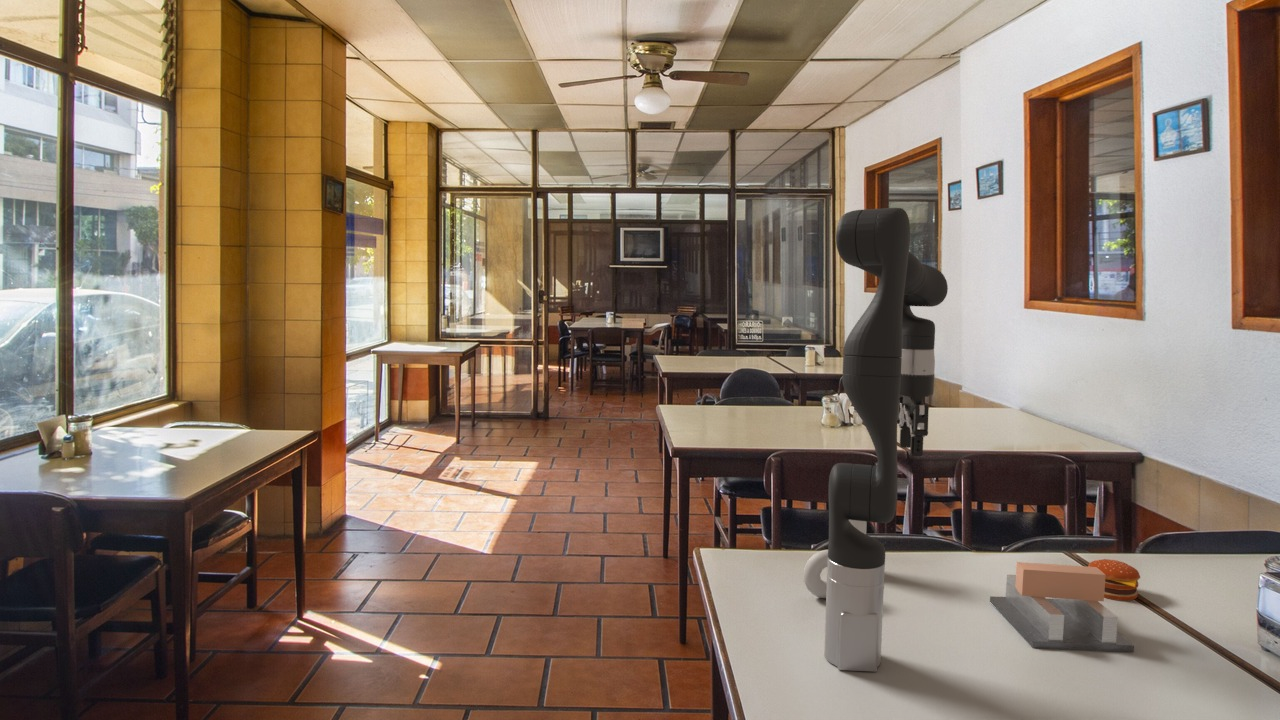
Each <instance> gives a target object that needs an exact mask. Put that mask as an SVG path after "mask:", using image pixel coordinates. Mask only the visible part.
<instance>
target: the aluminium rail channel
mask: <svg viewBox="0 0 1280 720" xmlns="http://www.w3.org/2000/svg"><path fill="white" fill-rule="evenodd" d="M1005 585H1006V586H1005V596H991V595H990V597H989V603H990V602H991V603H992V604H993V605H994V606H995V607H996V608H995V607H994V606H993V605H992V604H991V603H990V604H991V605H992V606H993V607H994V608H995V609H996V610H997V611H998V612H999V614H1000V615H1001V614H1002V617H1003V618H1004V619H1005V620H1006V621H1007V622H1008V623H1009V624H1010V625H1011V626H1012V628H1013V629H1014V630H1015V631H1016V632H1017V633H1018V634H1019V635H1020V636H1021V637H1022V639H1024V640H1025V641H1026V642H1027V643H1028V645H1029V646H1030V647H1031V648H1032V649H1050V650H1052V649H1054V650H1073V651H1074V650H1075V651H1076V650H1078V651H1096V652H1097V651H1099V652H1100V651H1102V652H1119V653H1120V652H1122V653H1134V652H1135V645H1134V644H1133V643H1132V642H1131V641H1129V639H1127V638H1126V637H1125V636H1123V635H1122V634H1121V633H1119V632H1118V621H1119V617H1118V615H1116V614H1115V613H1114V612H1112V611H1111V610H1110V609H1109V608H1107V607H1106V606H1105V605H1103V604H1102V603H1100V601H1090V600H1076V599H1062V598H1047V597H1034V596H1022V595H1021V594H1020V593H1019V591H1018V590H1017V589H1016V588H1015V585H1016V574H1006V584H1005Z"/></svg>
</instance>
